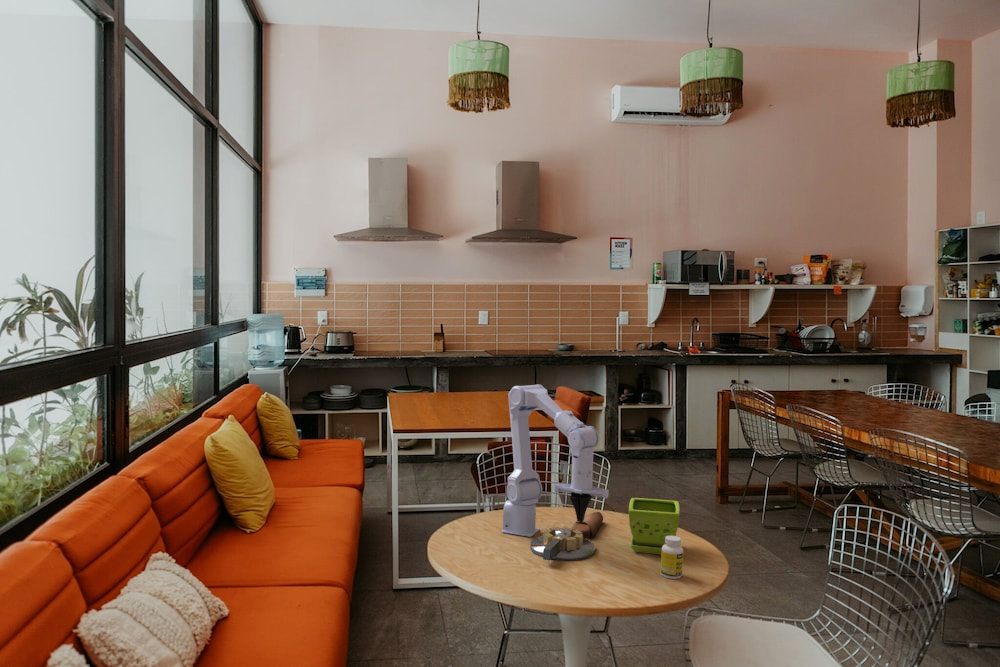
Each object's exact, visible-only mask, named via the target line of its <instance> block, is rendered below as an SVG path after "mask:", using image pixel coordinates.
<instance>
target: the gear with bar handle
mask: <svg viewBox="0 0 1000 667" xmlns="http://www.w3.org/2000/svg"><path fill="white" fill-rule="evenodd" d="M558 528H560V527H559V526H554V527H549V528H545V529H544V530H543V531H542V536H543V545H545V546H546V547H545V548H544V549H543V557H542V559H543V560H544V561H549V562H550V561H552V560H553V559H552V558H553V557H554V556H555V554H556V553H557V552H558V551H559V550H561V551H562V550H563V549H565V550H567V551H569V550H576V548H581V546H582V545H583V535H582V532H580V531H579V530H573V528H571V527H566V526H563V527H562V528H565V529H569V530H571V537H567V538H562V537H556V536H555V530H556V529H558Z"/></svg>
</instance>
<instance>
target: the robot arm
mask: <svg viewBox="0 0 1000 667" xmlns="http://www.w3.org/2000/svg"><path fill="white" fill-rule="evenodd" d="M507 395H508V396H507V397H508V399H507V400H508V408H509V409H508V410H509V419H510V420H509V422H510V432H511V443H512V444H511V445H512V446H511V447H512V458H513V467H514V468H513V469H514V470H513V471H512V472H511V474H510V475H509V476H507V486H506V496H507V498H508V499H507V500H506V501H505V503H504V505H503V511H502V529H501V533H503V534H511V535H517V536H523V537H530V538H531V537H533V536H534V535H535V534H536V533H538V532H540V530H541V529H540V527H537V526H536V523H537V522H536V519H537V518H536V517H537V513H536V512H537V503H538V502H539V499H540V498H541V497H542V494H543V485H542V482H541V480H540V474H539V473H538V472H537V471H536V470H534V469H533V460H532V448H531V438H530V425H529V423H530V422H529V416H530V415H531V413H533V411H535V410H536V409H538V408H539V409H540V410H541V411H543V412H544V413H545V414H546V415H547V416H549V417H550V418H551V419H553V420H554V426H555V428H556V429H557V430H558V431H559V432H561V433H562V434H563V436H565V437H566V438H567V442H568V445H569V447H570V453H571V479H570V480H571V481H570V482H571V483H558V482H557V483H556V484H555V485H554V493H567V494H570V496H569V499H570V500H569V501H570V502H571V503H572V506H573V509H574V511H575V515H576V521H579V522H583V520H584V516H586V513H587V512H586V511H587V509H588V507H589V503H590V502H591V500H592V498H593V497H597V498H598V497H599V498H603V499H608V498H609V492H610V491H609V489H606V488H601V487H597V486H593V479H594V478H593V477H594V476H593V472H594V449H595V447H596V446H597V445H598V443H599V433H598V431H597V429H596V428H595V427H594V426H592V425H587V424H585V423H584V422H583V421H580V419H578V418H577V416H575V415H574V412H572V411H571V410H563V409H562V408H561V407H560V406H559V405H558V404H557V403H556V402H555V401H554V400H553V399H552V397H551V396H550V395H549V393H548V389H546V388H545V387H544V386H543V385H542V384H538V383H537V384H531V385H530V384H529V385H514V386H513V387H512V388H511V389H510V391H509V392H508V394H507Z"/></svg>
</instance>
